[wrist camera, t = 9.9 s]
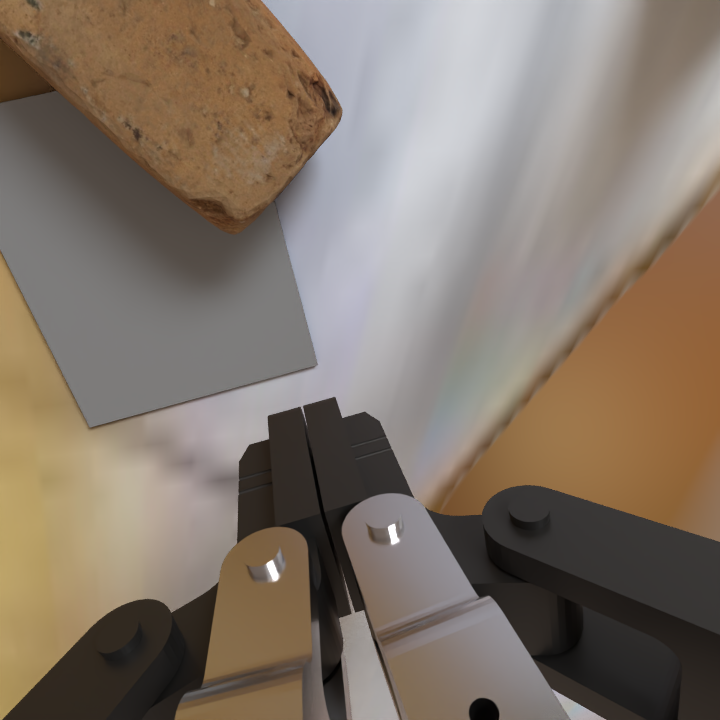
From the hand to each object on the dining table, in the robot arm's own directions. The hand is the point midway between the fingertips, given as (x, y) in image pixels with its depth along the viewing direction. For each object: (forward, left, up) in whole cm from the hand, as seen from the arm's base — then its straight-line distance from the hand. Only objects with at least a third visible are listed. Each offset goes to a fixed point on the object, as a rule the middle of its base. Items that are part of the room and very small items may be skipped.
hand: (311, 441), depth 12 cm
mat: (+8, +1, -29) cm, 30 cm away
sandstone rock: (-2, -3, -24) cm, 24 cm away
